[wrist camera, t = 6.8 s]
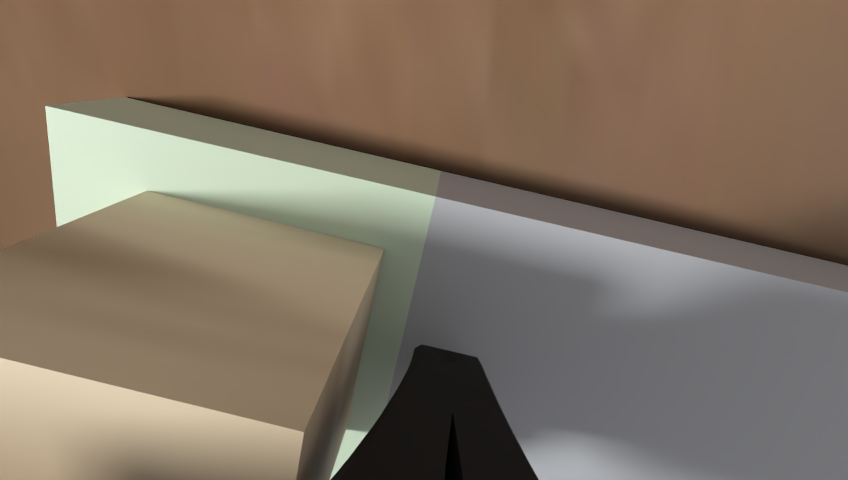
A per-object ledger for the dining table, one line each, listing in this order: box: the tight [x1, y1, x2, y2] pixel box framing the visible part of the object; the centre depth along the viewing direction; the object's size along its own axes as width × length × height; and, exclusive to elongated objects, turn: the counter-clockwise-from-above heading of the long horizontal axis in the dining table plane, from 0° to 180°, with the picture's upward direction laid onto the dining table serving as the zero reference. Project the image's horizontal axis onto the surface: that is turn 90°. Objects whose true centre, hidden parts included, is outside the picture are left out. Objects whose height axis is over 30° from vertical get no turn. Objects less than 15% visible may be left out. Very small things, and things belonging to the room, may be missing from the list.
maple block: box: [0, 191, 384, 480], centre depth 7 cm, size 4×4×4 cm
